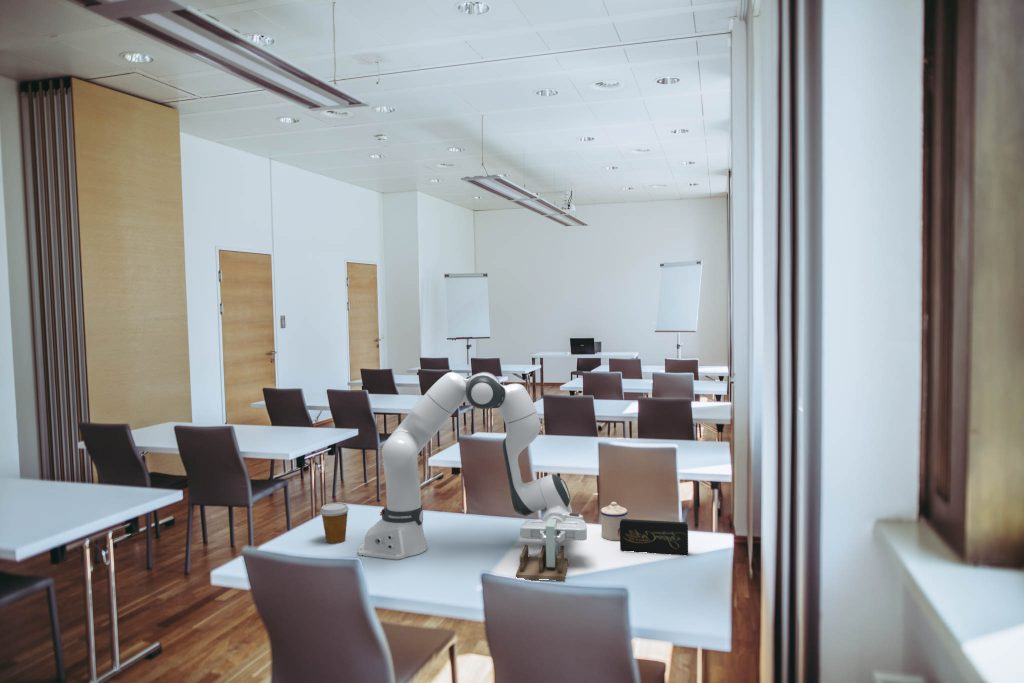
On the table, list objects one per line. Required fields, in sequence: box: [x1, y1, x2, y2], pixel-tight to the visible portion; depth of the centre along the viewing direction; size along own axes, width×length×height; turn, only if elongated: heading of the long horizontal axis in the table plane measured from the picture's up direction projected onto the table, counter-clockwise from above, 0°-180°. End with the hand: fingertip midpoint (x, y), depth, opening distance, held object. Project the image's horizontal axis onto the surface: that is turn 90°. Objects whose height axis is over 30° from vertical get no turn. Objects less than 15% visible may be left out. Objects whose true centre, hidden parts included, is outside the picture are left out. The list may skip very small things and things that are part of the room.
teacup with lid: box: [600, 501, 629, 541], centre depth 228 cm, size 12×9×12 cm
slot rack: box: [515, 544, 569, 583], centre depth 199 cm, size 14×14×6 cm
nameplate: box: [619, 518, 689, 556], centre depth 212 cm, size 21×2×10 cm, turn 75°
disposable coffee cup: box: [319, 502, 350, 545], centre depth 231 cm, size 10×10×12 cm
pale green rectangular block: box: [545, 519, 558, 567], centre depth 198 cm, size 2×7×12 cm, turn 170°
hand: (551, 539), depth 197 cm, fingers closed on pale green rectangular block, 2 cm apart
